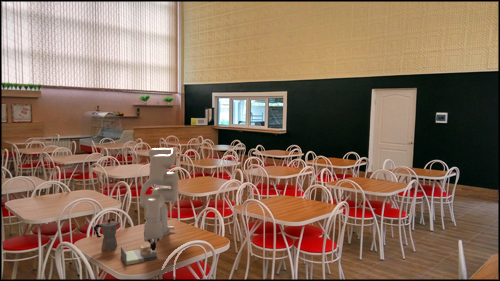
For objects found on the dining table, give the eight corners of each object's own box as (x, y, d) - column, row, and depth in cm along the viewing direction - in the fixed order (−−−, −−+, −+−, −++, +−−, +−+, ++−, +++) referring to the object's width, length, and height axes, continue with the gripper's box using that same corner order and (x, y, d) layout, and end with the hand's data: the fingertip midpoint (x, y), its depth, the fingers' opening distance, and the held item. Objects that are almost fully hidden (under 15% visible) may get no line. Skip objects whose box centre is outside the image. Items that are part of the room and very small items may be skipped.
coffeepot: (119, 243, 235) (119, 215, 233) (122, 248, 227) (121, 219, 225) (93, 247, 227) (92, 218, 226) (95, 252, 219) (94, 223, 218)
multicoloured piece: (152, 250, 224) (151, 240, 224) (158, 258, 212) (158, 248, 212) (121, 255, 216) (120, 245, 215) (125, 264, 203) (125, 254, 203)
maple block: (149, 250, 218) (148, 244, 218) (150, 253, 215) (150, 246, 214) (140, 252, 216) (140, 245, 215) (142, 255, 212) (141, 248, 212)
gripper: (163, 215, 223) (163, 245, 224) (138, 219, 215) (138, 249, 217) (167, 219, 216) (167, 249, 218) (141, 222, 209) (142, 254, 210)
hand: (153, 249), depth 217 cm, fingers closed
